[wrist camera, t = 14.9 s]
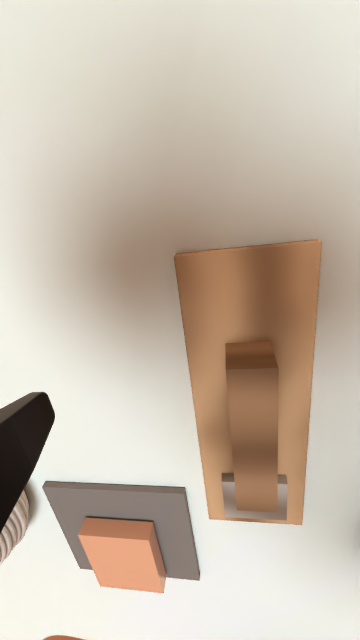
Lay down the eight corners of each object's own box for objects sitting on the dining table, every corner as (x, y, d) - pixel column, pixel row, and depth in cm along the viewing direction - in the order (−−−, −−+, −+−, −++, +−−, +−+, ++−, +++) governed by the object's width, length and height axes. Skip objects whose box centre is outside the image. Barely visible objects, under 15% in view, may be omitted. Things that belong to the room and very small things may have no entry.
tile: (148, 540, 26) (163, 593, 30) (153, 520, 28) (166, 572, 32) (77, 534, 28) (100, 586, 31) (85, 515, 29) (106, 566, 33)
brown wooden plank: (208, 343, 19) (205, 370, 16) (288, 340, 18) (300, 367, 15) (225, 507, 25) (225, 545, 23) (284, 510, 25) (292, 551, 22)
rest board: (317, 239, 16) (321, 242, 15) (300, 515, 26) (302, 525, 25) (176, 253, 18) (173, 256, 17) (209, 510, 27) (209, 519, 26)
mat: (184, 487, 26) (183, 493, 26) (199, 573, 32) (199, 580, 31) (45, 481, 29) (42, 487, 28) (82, 562, 34) (80, 568, 34)
